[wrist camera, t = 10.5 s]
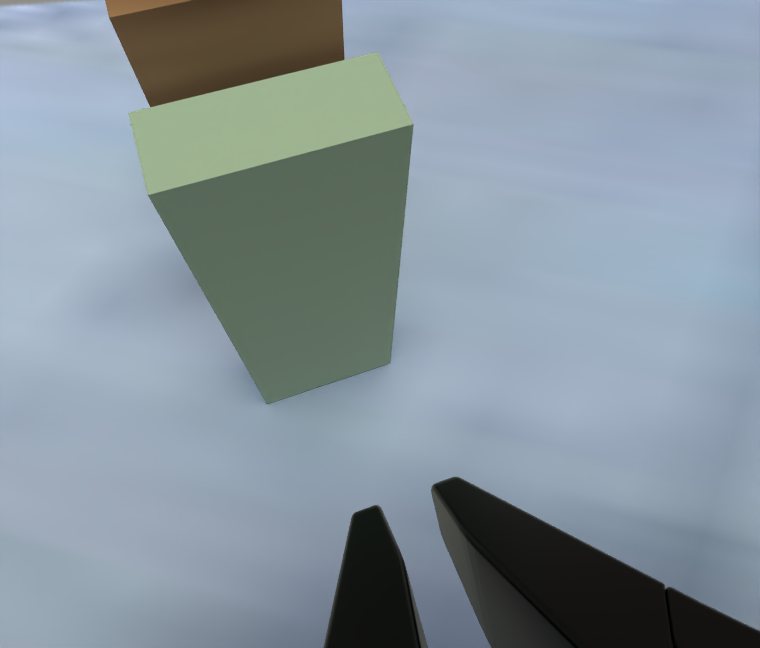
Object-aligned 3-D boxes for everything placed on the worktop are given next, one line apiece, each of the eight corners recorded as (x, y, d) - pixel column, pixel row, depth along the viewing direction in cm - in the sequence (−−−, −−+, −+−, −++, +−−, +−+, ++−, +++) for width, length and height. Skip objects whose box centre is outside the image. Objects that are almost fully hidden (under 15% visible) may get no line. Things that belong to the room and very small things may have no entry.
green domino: (390, 363, 23) (413, 124, 11) (267, 404, 22) (148, 195, 10) (373, 319, 24) (378, 52, 12) (253, 357, 23) (128, 112, 11)
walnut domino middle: (353, 264, 25) (339, -32, 13) (238, 298, 24) (109, 17, 12) (339, 227, 25) (314, -86, 13) (227, 258, 25) (95, -43, 13)
